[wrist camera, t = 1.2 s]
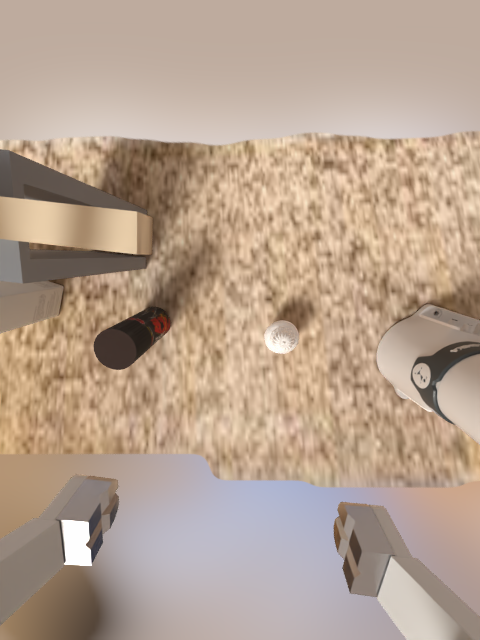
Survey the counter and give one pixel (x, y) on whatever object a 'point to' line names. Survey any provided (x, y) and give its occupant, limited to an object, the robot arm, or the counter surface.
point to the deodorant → (131, 338)
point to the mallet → (75, 226)
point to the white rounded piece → (281, 336)
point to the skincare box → (28, 303)
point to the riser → (51, 186)
